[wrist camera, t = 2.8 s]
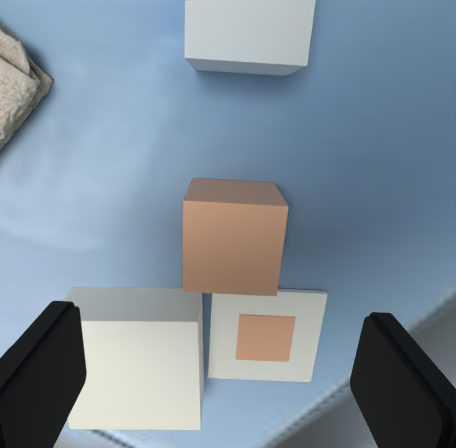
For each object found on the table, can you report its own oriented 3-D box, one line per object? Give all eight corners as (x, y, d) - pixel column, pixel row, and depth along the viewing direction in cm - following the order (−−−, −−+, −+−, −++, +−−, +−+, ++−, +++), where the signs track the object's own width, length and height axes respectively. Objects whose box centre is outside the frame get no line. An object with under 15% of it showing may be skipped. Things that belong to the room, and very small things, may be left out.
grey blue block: (298, -34, 16) (327, -91, 11) (285, 76, 18) (307, 66, 13) (198, -41, 16) (186, -102, 11) (195, 70, 18) (184, 57, 13)
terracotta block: (274, 182, 20) (288, 206, 15) (265, 254, 22) (276, 296, 17) (193, 177, 20) (183, 200, 15) (191, 250, 21) (182, 291, 17)
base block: (202, 285, 23) (197, 321, 19) (204, 382, 26) (200, 429, 22) (75, 284, 23) (45, 320, 19) (92, 381, 26) (70, 429, 22)
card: (326, 290, 22) (328, 294, 22) (309, 378, 25) (310, 383, 25) (212, 285, 22) (212, 289, 22) (208, 373, 25) (208, 379, 25)
